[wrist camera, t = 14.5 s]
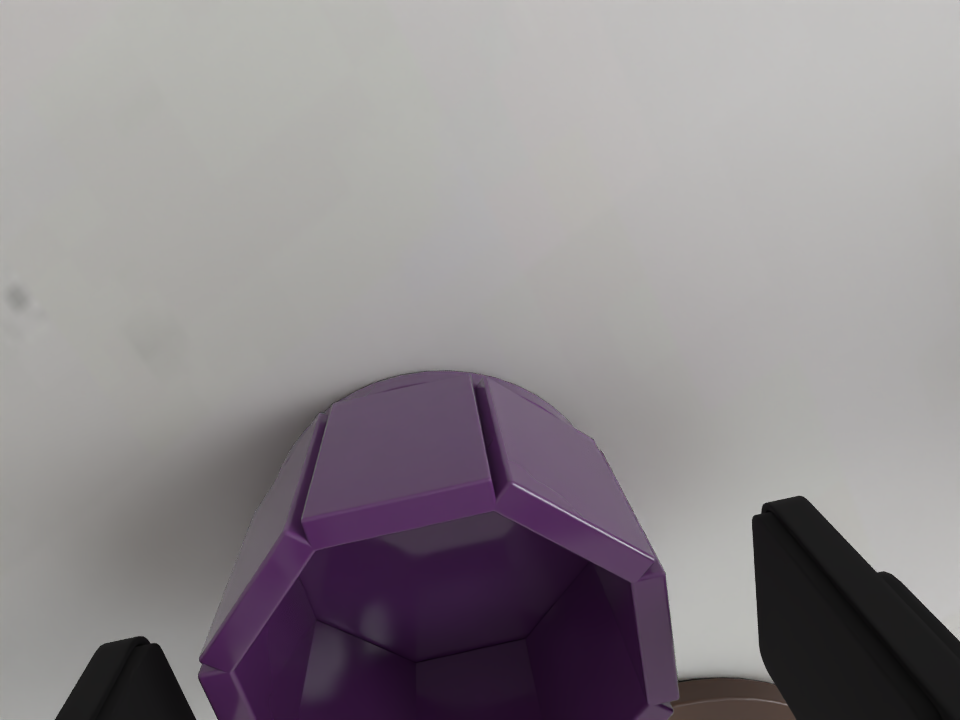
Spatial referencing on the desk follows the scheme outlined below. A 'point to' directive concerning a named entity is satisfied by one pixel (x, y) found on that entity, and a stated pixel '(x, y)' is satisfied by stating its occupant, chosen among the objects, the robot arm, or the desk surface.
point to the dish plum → (443, 570)
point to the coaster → (729, 700)
